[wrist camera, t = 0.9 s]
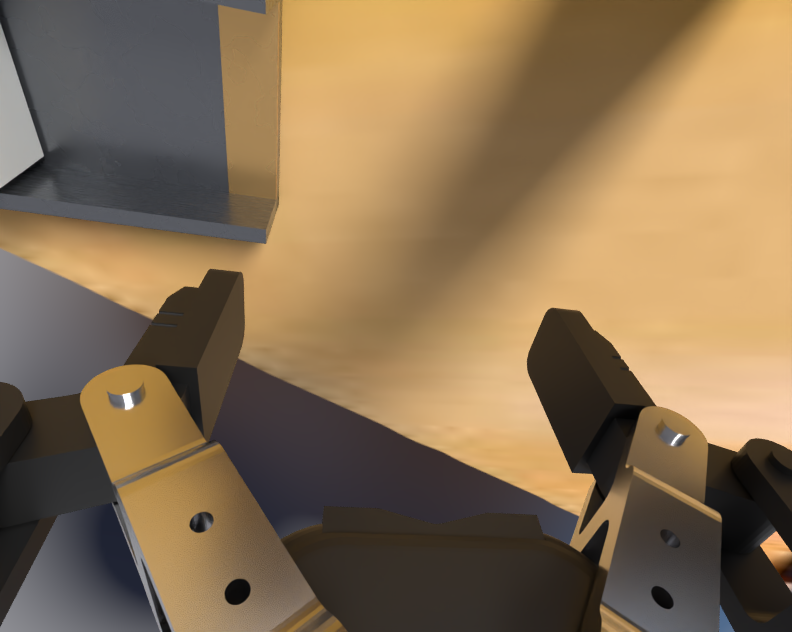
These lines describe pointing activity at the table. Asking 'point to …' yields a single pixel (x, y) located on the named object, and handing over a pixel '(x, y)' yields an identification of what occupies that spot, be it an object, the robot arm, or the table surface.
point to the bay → (151, 112)
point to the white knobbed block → (14, 121)
